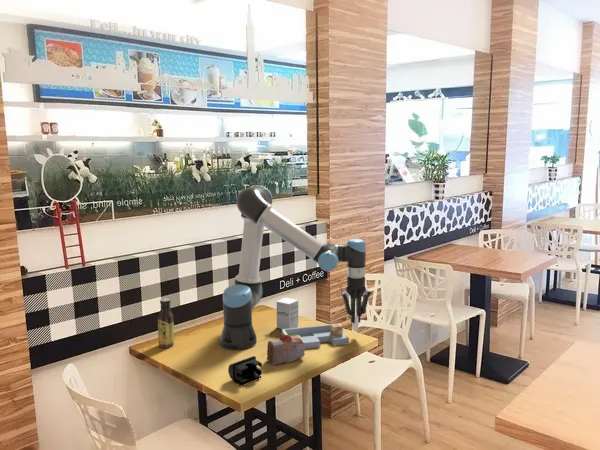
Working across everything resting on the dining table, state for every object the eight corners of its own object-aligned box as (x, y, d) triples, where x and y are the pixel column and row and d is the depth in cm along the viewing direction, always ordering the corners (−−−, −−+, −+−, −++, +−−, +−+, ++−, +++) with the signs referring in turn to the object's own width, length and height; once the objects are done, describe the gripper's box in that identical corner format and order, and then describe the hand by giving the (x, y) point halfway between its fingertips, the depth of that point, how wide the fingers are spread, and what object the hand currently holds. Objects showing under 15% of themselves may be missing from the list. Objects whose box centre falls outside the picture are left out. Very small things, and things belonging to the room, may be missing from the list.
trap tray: (340, 334, 219) (340, 323, 218) (348, 343, 208) (349, 332, 207) (281, 340, 212) (281, 329, 211) (287, 350, 202) (287, 338, 201)
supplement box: (276, 328, 227) (275, 301, 224) (285, 323, 233) (285, 296, 231) (289, 331, 222) (289, 304, 220) (299, 326, 228) (298, 299, 226)
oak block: (333, 336, 210) (333, 327, 209) (330, 332, 213) (330, 323, 213) (342, 335, 211) (342, 326, 210) (339, 332, 215) (339, 323, 214)
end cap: (251, 371, 184) (250, 353, 183) (263, 377, 179) (262, 359, 178) (228, 379, 177) (227, 361, 176) (240, 387, 172) (239, 368, 171)
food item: (296, 352, 200) (296, 328, 199) (306, 359, 193) (306, 335, 192) (265, 359, 193) (264, 335, 192) (274, 367, 187) (274, 342, 185)
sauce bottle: (155, 345, 207) (153, 299, 204) (168, 341, 212) (166, 296, 209) (164, 350, 203) (162, 302, 200) (177, 345, 208) (175, 299, 204)
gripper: (344, 279, 205) (344, 334, 209) (374, 277, 208) (373, 331, 212) (338, 275, 212) (338, 328, 216) (367, 272, 216) (366, 325, 219)
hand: (355, 329), depth 214 cm, fingers closed
